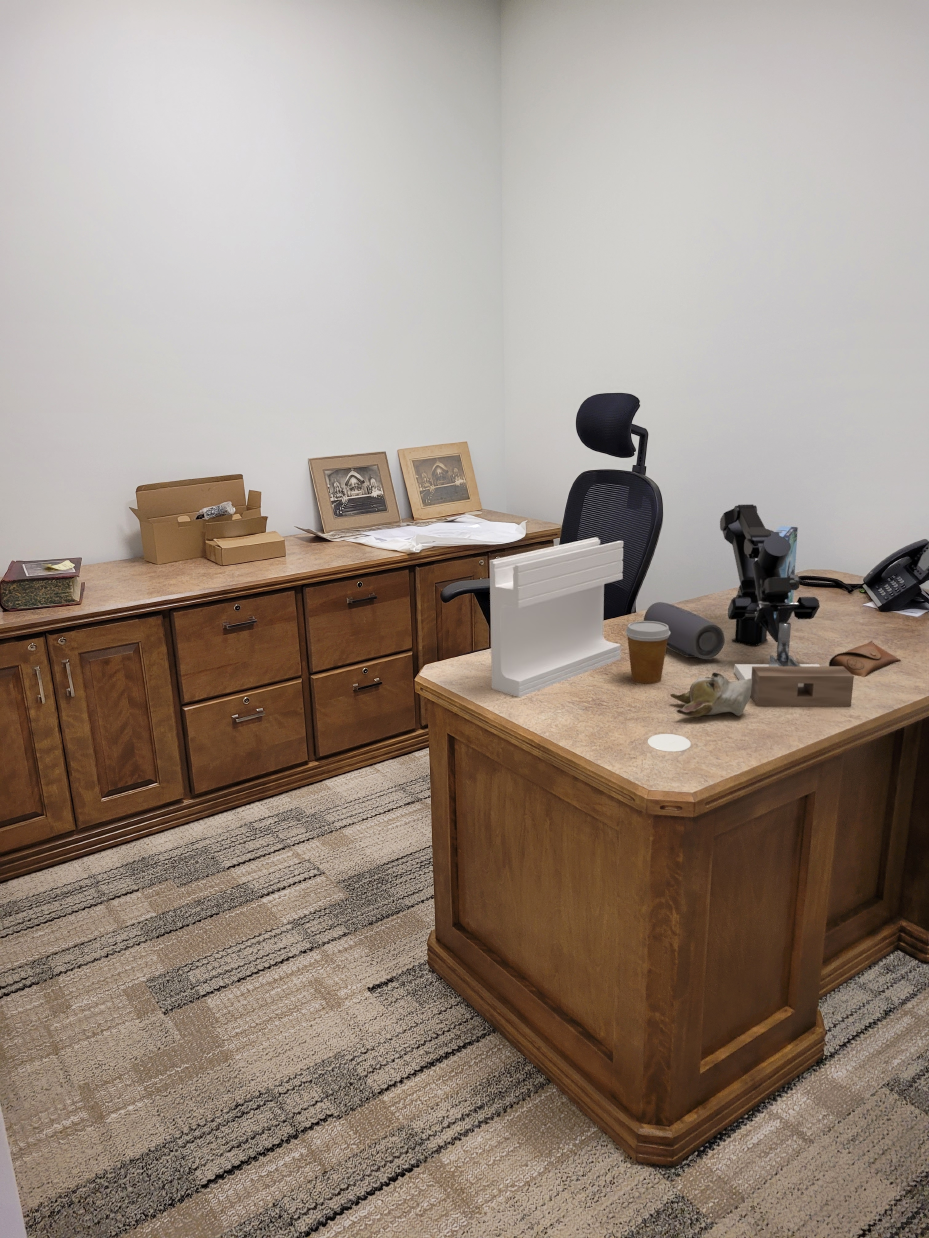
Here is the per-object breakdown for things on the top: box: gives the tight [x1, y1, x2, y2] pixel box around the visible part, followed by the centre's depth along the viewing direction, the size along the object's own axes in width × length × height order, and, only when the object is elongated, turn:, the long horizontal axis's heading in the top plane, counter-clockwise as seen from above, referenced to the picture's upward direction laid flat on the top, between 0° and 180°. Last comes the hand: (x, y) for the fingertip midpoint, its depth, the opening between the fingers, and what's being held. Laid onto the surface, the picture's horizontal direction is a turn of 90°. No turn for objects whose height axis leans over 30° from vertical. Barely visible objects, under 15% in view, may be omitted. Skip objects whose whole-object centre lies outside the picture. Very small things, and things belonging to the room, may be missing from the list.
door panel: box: [733, 654, 821, 687], centre depth 186 cm, size 11×18×5 cm, turn 86°
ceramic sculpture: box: [669, 672, 752, 718], centre depth 169 cm, size 11×9×15 cm
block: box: [489, 537, 624, 698], centre depth 192 cm, size 35×8×28 cm, turn 134°
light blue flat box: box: [774, 526, 799, 619], centre depth 236 cm, size 20×5×23 cm, turn 152°
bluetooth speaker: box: [643, 601, 726, 660], centre depth 208 cm, size 23×9×10 cm, turn 18°
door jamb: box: [750, 665, 855, 707], centre depth 175 cm, size 6×18×6 cm, turn 86°
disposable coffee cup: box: [625, 620, 670, 684], centre depth 189 cm, size 10×10×12 cm
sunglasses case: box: [828, 640, 902, 678], centre depth 196 cm, size 18×7×7 cm
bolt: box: [776, 621, 793, 666], centre depth 184 cm, size 8×2×10 cm, turn 176°
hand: (778, 641), depth 190 cm, fingers closed
